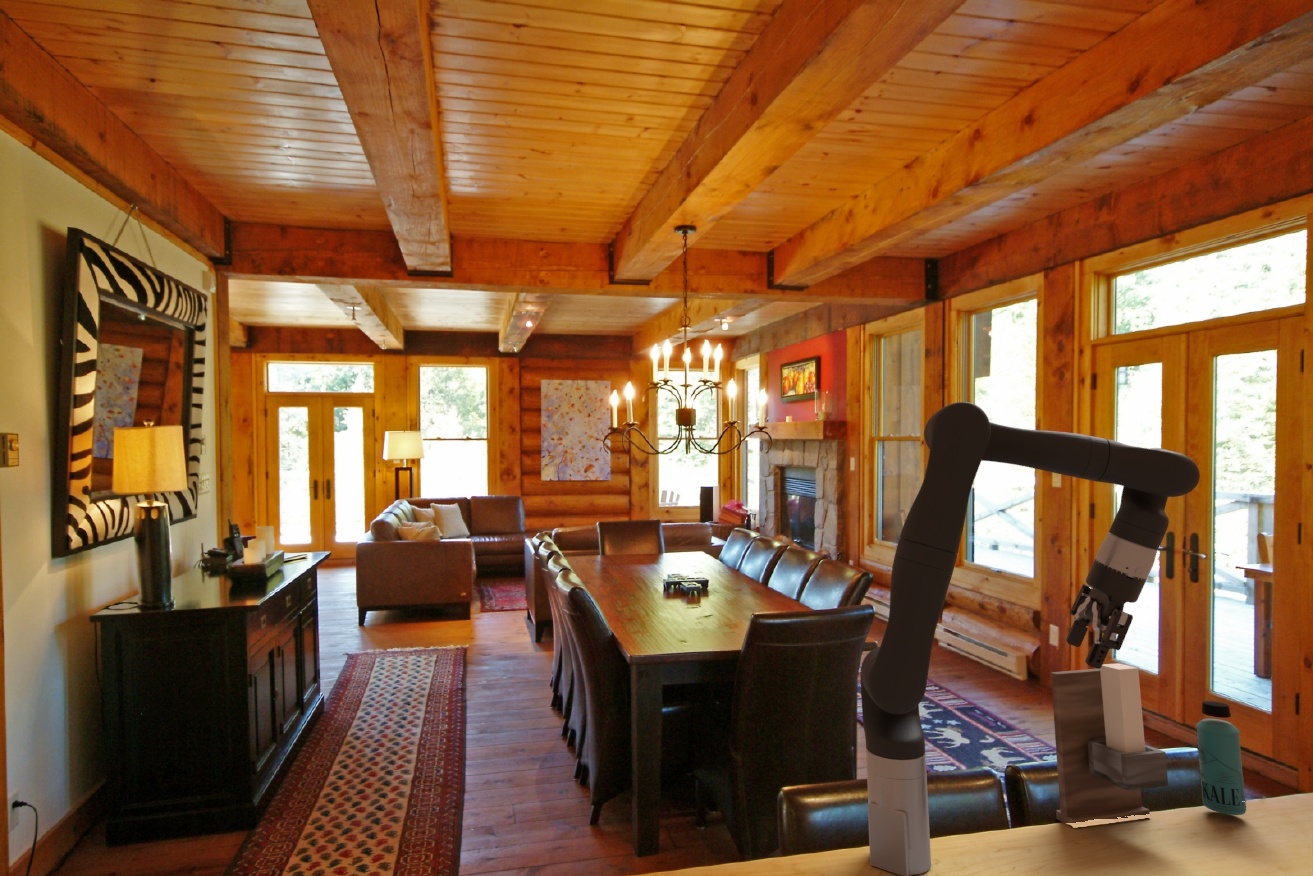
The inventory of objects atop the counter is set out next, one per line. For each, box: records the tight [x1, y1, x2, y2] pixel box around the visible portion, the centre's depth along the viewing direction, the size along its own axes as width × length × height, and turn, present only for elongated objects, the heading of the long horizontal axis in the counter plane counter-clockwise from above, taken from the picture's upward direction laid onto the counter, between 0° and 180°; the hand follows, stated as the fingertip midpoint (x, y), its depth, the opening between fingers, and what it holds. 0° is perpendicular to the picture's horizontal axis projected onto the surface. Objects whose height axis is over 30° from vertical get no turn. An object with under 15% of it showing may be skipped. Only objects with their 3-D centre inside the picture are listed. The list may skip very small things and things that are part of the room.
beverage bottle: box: [1195, 700, 1247, 816], centre depth 128 cm, size 6×7×20 cm
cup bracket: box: [1050, 668, 1169, 824], centre depth 125 cm, size 12×16×26 cm
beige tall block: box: [1100, 662, 1146, 754], centre depth 123 cm, size 4×4×18 cm
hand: (1081, 655), depth 118 cm, fingers open, 8 cm apart
